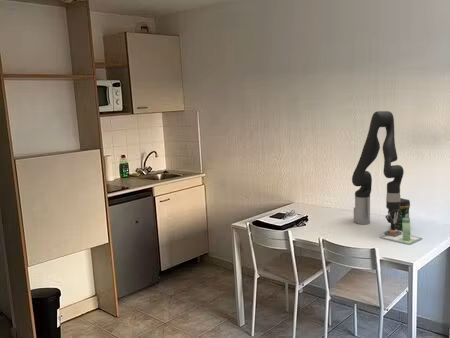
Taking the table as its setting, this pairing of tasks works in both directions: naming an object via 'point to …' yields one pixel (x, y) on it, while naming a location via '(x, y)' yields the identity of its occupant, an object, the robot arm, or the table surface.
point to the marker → (406, 228)
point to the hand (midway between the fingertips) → (393, 229)
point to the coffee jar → (403, 212)
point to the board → (399, 238)
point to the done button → (393, 231)
